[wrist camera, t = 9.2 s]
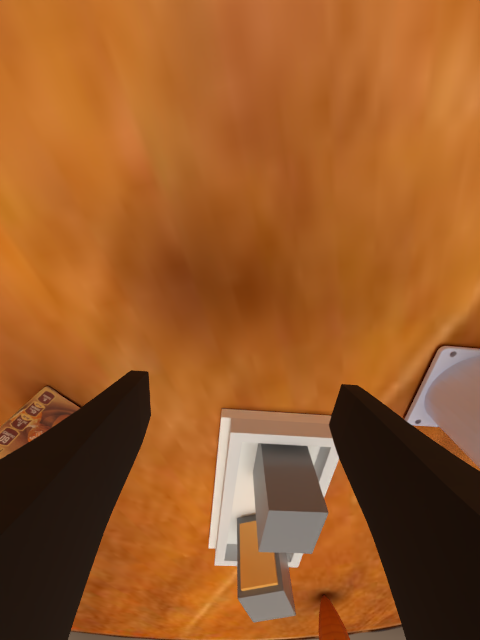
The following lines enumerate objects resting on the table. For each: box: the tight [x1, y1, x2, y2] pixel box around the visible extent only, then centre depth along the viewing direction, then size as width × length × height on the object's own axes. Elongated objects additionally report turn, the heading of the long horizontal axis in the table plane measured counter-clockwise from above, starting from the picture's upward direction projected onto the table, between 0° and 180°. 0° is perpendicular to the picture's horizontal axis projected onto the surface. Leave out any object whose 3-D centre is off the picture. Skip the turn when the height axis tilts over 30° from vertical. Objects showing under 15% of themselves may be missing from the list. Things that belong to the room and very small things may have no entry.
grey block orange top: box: [237, 514, 296, 622], centre depth 24 cm, size 4×5×6 cm
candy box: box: [0, 386, 80, 459], centre depth 15 cm, size 9×4×15 cm, turn 43°
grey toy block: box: [253, 443, 328, 554], centre depth 20 cm, size 4×5×6 cm
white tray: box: [209, 409, 339, 567], centre depth 25 cm, size 11×20×2 cm, turn 174°
